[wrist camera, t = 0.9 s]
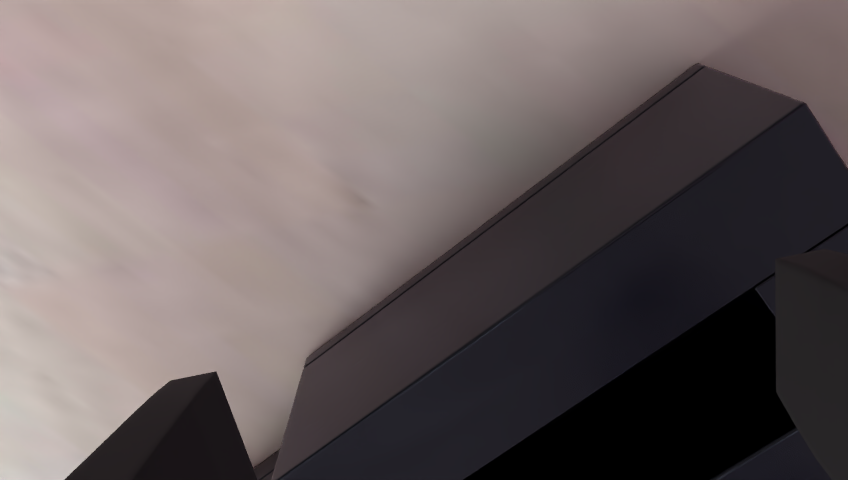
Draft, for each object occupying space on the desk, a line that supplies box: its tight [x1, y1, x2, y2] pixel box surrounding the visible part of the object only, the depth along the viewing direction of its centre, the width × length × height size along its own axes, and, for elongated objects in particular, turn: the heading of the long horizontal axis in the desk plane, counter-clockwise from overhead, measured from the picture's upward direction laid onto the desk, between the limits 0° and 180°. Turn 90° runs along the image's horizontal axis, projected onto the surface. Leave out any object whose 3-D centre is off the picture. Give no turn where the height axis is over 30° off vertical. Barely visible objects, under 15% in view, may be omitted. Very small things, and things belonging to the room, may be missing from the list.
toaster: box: [271, 63, 848, 480], centre depth 19 cm, size 9×13×6 cm, turn 129°
